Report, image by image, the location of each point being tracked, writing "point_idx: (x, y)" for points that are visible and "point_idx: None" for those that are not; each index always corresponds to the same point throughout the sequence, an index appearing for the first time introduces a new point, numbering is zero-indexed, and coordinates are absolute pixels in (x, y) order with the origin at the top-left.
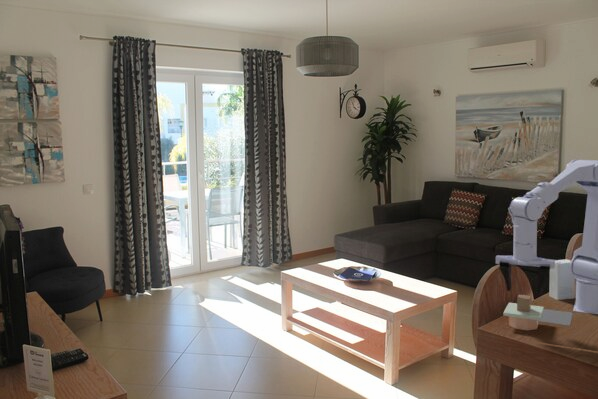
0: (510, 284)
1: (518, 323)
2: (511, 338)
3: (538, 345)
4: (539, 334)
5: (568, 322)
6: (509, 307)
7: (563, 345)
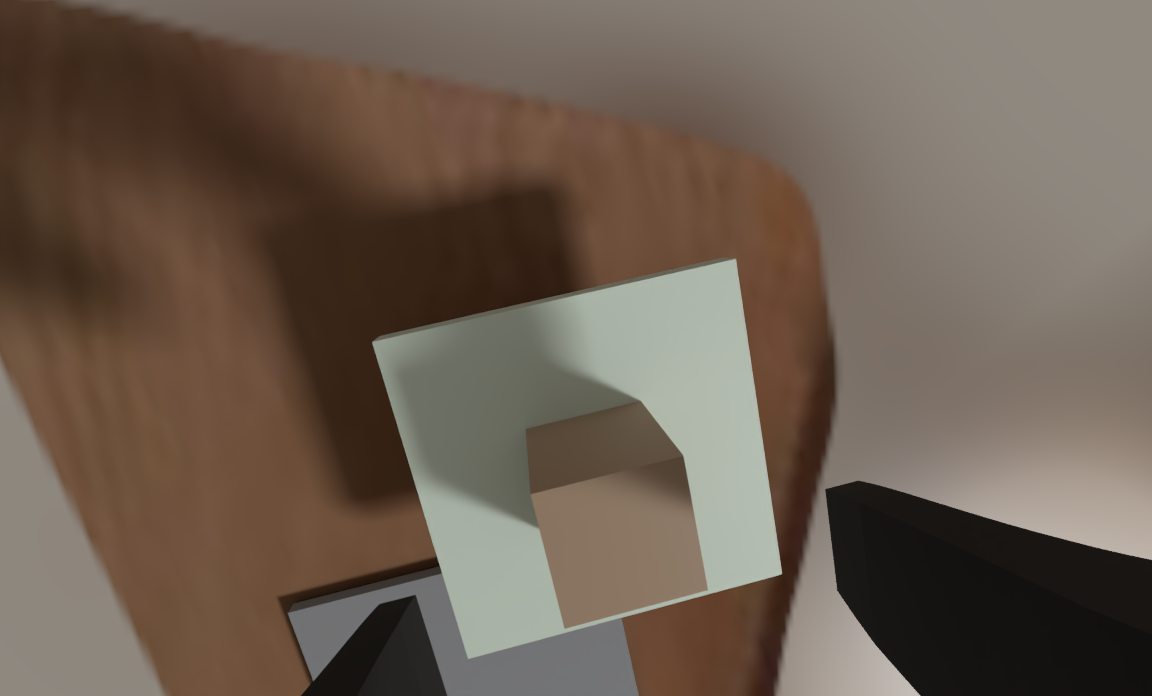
0: (892, 605)
1: None
2: (560, 108)
3: (328, 88)
4: None
5: (323, 664)
6: (732, 443)
7: (171, 214)
